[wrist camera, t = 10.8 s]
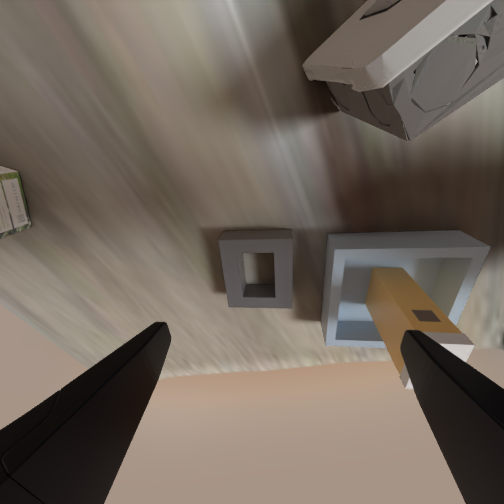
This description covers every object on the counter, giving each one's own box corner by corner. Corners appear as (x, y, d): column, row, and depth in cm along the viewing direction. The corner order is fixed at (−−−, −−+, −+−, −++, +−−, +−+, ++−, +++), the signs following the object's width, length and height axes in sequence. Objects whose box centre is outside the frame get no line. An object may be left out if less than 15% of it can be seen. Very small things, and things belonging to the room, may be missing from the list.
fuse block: (291, 229, 19) (292, 238, 18) (291, 294, 22) (292, 308, 21) (223, 231, 20) (218, 240, 18) (232, 294, 23) (228, 307, 22)
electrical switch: (463, -92, 11) (977, -628, 3) (488, 22, 13) (839, -121, 5) (298, 67, 14) (334, 12, 6) (337, 137, 16) (402, 161, 8)
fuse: (403, 267, 19) (474, 345, 12) (392, 305, 21) (449, 391, 14) (372, 267, 19) (423, 342, 12) (364, 304, 21) (405, 388, 14)
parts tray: (459, 230, 18) (490, 246, 15) (425, 324, 22) (444, 350, 20) (327, 233, 19) (334, 249, 16) (320, 321, 24) (325, 345, 21)
